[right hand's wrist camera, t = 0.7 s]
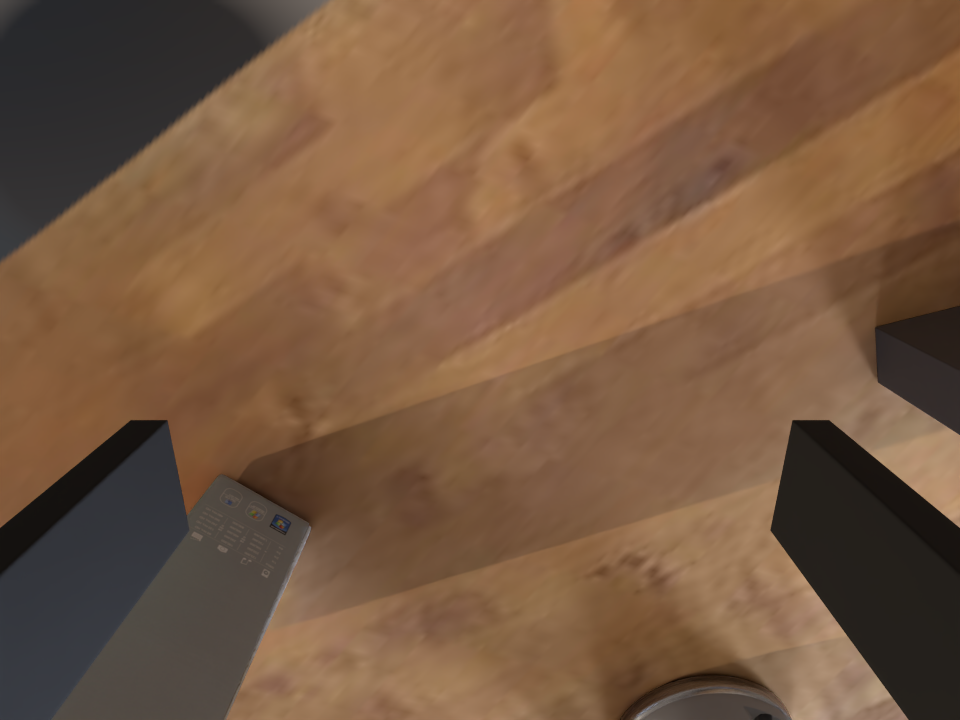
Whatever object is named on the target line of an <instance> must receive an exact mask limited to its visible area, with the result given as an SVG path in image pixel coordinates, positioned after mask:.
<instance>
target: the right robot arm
mask: <svg viewBox="0 0 960 720" xmlns="http://www.w3.org/2000/svg"><path fill="white" fill-rule="evenodd" d="M188 532H189V525H188V520H187V515H186V510H185V505H184V500H183V495H182V490H181V485H180V480H179V476H178V471H177V466H176V461H175V456H174V451H173V446H172V441H171V436H170V431H169V426H168V421H167V420H131V421H129V422H128V423H127V424H126V425H125V426H123V427H122V428H121V429H120V430H119V431H117V432H116V433H115V434H114V435H113V436H111V437H110V438H109V439H108V440H106V441H105V442H104V443H103V444H102V445H100V446H99V447H98V448H97V449H96V450H94V451H93V452H92V453H91V454H89V455H88V456H87V457H86V458H85V459H83V460H82V461H81V462H80V463H79V464H77V465H76V466H75V467H74V468H72V469H71V470H70V471H69V472H68V473H66V474H65V475H64V476H63V477H62V478H60V479H59V480H58V481H57V482H56V483H54V484H53V485H52V486H51V487H49V488H48V489H47V490H46V491H45V492H43V493H42V494H41V495H40V496H39V497H37V498H36V499H35V500H34V501H32V502H31V503H30V504H29V505H28V506H26V507H25V508H24V509H23V510H22V511H20V512H19V513H18V514H17V515H15V516H14V517H13V518H12V519H11V520H9V521H8V522H7V523H6V524H5V525H3V526H2V527H1V528H0V720H51V719H52V718H53V717H54V715H55V714H56V712H57V711H58V710H59V708H60V707H61V706H62V704H63V703H64V702H65V700H66V699H67V697H68V696H69V695H70V693H71V692H72V691H73V689H74V688H75V686H76V685H77V684H78V682H79V681H80V680H81V678H82V677H83V676H84V674H85V673H86V671H87V670H88V669H89V667H90V666H91V665H92V663H93V662H94V660H95V659H96V658H97V656H98V655H99V654H100V652H101V651H102V649H103V648H104V647H105V645H106V644H107V643H108V641H109V640H110V639H111V637H112V636H113V634H114V633H115V632H116V630H117V629H118V628H119V626H120V625H121V623H122V622H123V621H124V619H125V618H126V617H127V615H128V614H129V613H130V611H131V610H132V608H133V607H134V606H135V604H136V603H137V602H138V600H139V599H140V597H141V596H142V595H143V593H144V592H145V591H146V589H147V588H148V586H149V585H150V584H151V582H152V581H153V580H154V578H155V577H156V576H157V574H158V573H159V571H160V570H161V569H162V567H163V566H164V565H165V563H166V562H167V560H168V559H169V558H170V556H171V555H172V554H173V552H174V551H175V550H176V548H177V547H178V545H179V544H180V543H181V541H182V540H183V539H184V537H185V536H186V534H187V533H188ZM771 532H772V533H773V534H774V536H775V537H776V539H777V540H778V541H779V543H780V544H781V545H782V547H783V548H784V550H785V551H786V552H787V554H788V555H789V556H790V558H791V559H792V560H793V562H794V563H795V565H796V566H797V567H798V569H799V570H800V571H801V573H802V574H803V576H804V577H805V578H806V580H807V581H808V582H809V584H810V585H811V586H812V588H813V589H814V591H815V592H816V593H817V595H818V596H819V597H820V599H821V600H822V602H823V603H824V604H825V606H826V607H827V608H828V610H829V611H830V613H831V614H832V615H833V617H834V618H835V619H836V621H837V622H838V623H839V625H840V626H841V628H842V629H843V630H844V632H845V633H846V634H847V636H848V637H849V639H850V640H851V641H852V643H853V644H854V645H855V647H856V648H857V649H858V651H859V652H860V654H861V655H862V656H863V658H864V659H865V660H866V662H867V663H868V665H869V666H870V667H871V669H872V670H873V671H874V673H875V674H876V676H877V677H878V678H879V680H880V681H881V682H882V684H883V685H884V686H885V688H886V689H887V691H888V692H889V693H890V695H891V696H892V697H893V699H894V700H895V702H896V703H897V704H898V706H899V707H900V708H901V710H902V711H903V712H904V714H905V715H906V717H907V718H908V719H909V720H960V528H959V527H958V526H957V525H955V524H954V523H953V522H952V521H951V520H949V519H948V518H947V517H946V516H945V515H943V514H942V513H941V512H940V511H938V510H937V509H936V508H935V507H934V506H932V505H931V504H930V503H929V502H928V501H926V500H925V499H924V498H923V497H921V496H920V495H919V494H918V493H917V492H915V491H914V490H913V489H912V488H911V487H909V486H908V485H907V484H906V483H904V482H903V481H902V480H901V479H900V478H898V477H897V476H896V475H895V474H894V473H892V472H891V471H890V470H889V469H888V468H886V467H885V466H884V465H883V464H881V463H880V462H879V461H878V460H877V459H875V458H874V457H873V456H872V455H871V454H869V453H868V452H867V451H866V450H864V449H863V448H862V447H861V446H860V445H858V444H857V443H856V442H855V441H854V440H852V439H851V438H850V437H849V436H847V435H846V434H845V433H844V432H843V431H841V430H840V429H839V428H838V427H837V426H835V425H834V424H833V423H832V422H831V421H829V420H793V421H792V426H791V431H790V436H789V441H788V446H787V451H786V456H785V461H784V466H783V471H782V476H781V480H780V485H779V490H778V495H777V500H776V505H775V510H774V515H773V520H772V525H771ZM620 720H792V719H791V717H790V715H789V713H788V711H787V709H786V707H785V706H784V705H783V703H782V702H781V701H780V700H779V699H778V697H777V696H775V695H774V694H773V693H772V692H770V691H769V690H767V689H766V688H764V687H762V686H760V685H758V684H756V683H754V682H751V681H748V680H745V679H741V678H736V677H730V676H720V675H706V676H696V677H690V678H685V679H681V680H677V681H674V682H671V683H668V684H666V685H663V686H661V687H659V688H657V689H655V690H653V691H651V692H649V693H648V694H646V695H644V696H643V697H642V698H640V699H639V700H638V701H636V702H635V703H634V704H633V705H632V706H631V707H630V708H629V709H628V710H627V711H626V712H625V714H624V715H623V716H622V718H621V719H620Z"/></svg>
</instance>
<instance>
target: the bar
mask: <svg viewBox="0 0 960 720" xmlns="http://www.w3.org/2000/svg"><path fill="white" fill-rule="evenodd" d="M875 331H876V352H877V373H878V383H880V384H881V385H883V386H884V387H886V388H888V389H889V390H891V391H892V392H894V393H895V394H897V395H898V396H900V397H902V398H903V399H905V400H906V401H908V402H909V403H911V404H913V405H914V406H916V407H917V408H919V409H920V410H922V411H923V412H925V413H927V414H928V415H930V416H931V417H933V418H934V419H936V420H937V421H939V422H941V423H942V424H944V425H945V426H947V427H948V428H950V429H951V430H953V431H955V432H956V433H958V434H959V435H960V306H958V307H954V308H950V309H946V310H942V311H938V312H934V313H930V314H926V315H922V316H918V317H914V318H910V319H906V320H902V321H898V322H894V323H890V324H886V325H882V326H878V327H876V328H875Z"/></svg>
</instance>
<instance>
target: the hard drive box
mask: <svg viewBox="0 0 960 720" xmlns="http://www.w3.org/2000/svg"><path fill="white" fill-rule="evenodd" d="M187 520H188V525H189V532H188V533H187V534H186V536H185V537H184V539H183V540H182V541H181V543H180V544H179V545H178V547H177V548H176V550H175V551H174V552H173V554H172V555H171V556H170V558H169V559H168V560H167V562H166V563H165V565H164V566H163V567H162V569H161V570H160V571H159V573H158V574H157V576H156V577H155V578H154V580H153V581H152V582H151V584H150V585H149V586H148V588H147V589H146V591H145V592H144V593H143V595H142V596H141V597H140V599H139V600H138V602H137V603H136V604H135V606H134V607H133V608H132V610H131V611H130V613H129V614H128V615H127V617H126V618H125V619H124V621H123V622H122V623H121V625H120V626H119V628H118V629H117V630H116V632H115V633H114V634H113V636H112V637H111V639H110V640H109V641H108V643H107V644H106V645H105V647H104V648H103V649H102V651H101V652H100V654H99V655H98V656H97V658H96V659H95V660H94V662H93V663H92V665H91V666H90V667H89V669H88V670H87V671H86V673H85V674H84V676H83V677H82V678H81V680H80V681H79V682H78V684H77V685H76V686H75V688H74V689H73V691H72V692H71V693H70V695H69V696H68V697H67V699H66V700H65V702H64V703H63V704H62V706H61V707H60V708H59V710H58V711H57V712H56V714H55V715H54V717H53V718H52V719H51V720H226V718H227V716H228V714H229V712H230V710H231V707H232V705H233V703H234V701H235V698H236V696H237V694H238V692H239V689H240V687H241V685H242V683H243V680H244V678H245V676H246V674H247V671H248V669H249V667H250V665H251V663H252V660H253V658H254V656H255V654H256V652H257V649H258V647H259V645H260V643H261V640H262V638H263V636H264V634H265V632H266V629H267V627H268V625H269V623H270V620H271V618H272V616H273V614H274V612H275V609H276V607H277V605H278V603H279V601H280V598H281V596H282V594H283V592H284V590H285V587H286V585H287V583H288V581H289V578H290V576H291V574H292V571H293V569H294V567H295V565H296V563H297V561H298V559H299V556H300V554H301V552H302V550H303V547H304V545H305V543H306V540H307V538H308V536H309V533H310V531H311V527H310V526H309V523H308V522H307V521H305V520H303V519H301V518H299V517H298V516H296V515H294V514H292V513H290V512H289V511H287V510H285V509H284V508H282V507H280V506H278V505H276V504H275V503H273V502H271V501H269V500H268V499H266V498H264V497H262V496H261V495H259V494H257V493H255V492H253V491H252V490H250V489H248V488H247V487H245V486H243V485H241V484H240V483H238V482H236V481H234V480H232V479H231V478H229V477H227V476H225V475H223V474H221V475H219V476H218V477H217V478H216V479H215V481H214V482H213V483H212V484H211V486H210V487H209V488H208V489H207V491H206V492H205V493H204V494H203V496H202V497H201V498H200V500H199V501H198V502H197V503H196V505H195V506H194V507H193V509H192V510H191V511H190V513H189V514H188V515H187Z"/></svg>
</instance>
